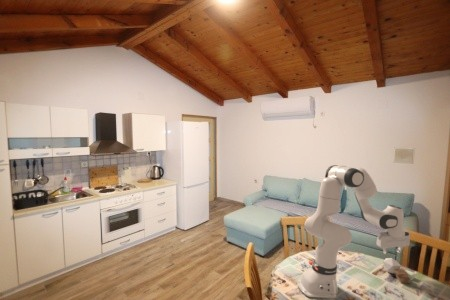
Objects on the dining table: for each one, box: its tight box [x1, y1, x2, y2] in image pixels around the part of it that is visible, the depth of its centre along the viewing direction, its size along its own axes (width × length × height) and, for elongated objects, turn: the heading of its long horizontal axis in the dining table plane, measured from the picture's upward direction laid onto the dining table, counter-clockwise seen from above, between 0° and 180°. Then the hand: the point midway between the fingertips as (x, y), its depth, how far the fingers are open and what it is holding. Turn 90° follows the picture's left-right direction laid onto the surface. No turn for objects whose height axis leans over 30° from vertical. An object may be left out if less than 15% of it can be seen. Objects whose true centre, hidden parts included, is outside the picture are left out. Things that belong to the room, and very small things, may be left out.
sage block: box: [404, 269, 415, 281], centre depth 133 cm, size 4×4×4 cm
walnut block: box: [394, 268, 412, 285], centre depth 130 cm, size 5×5×6 cm
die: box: [382, 257, 401, 275], centre depth 138 cm, size 8×9×10 cm
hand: (392, 253), depth 137 cm, fingers open, 8 cm apart
